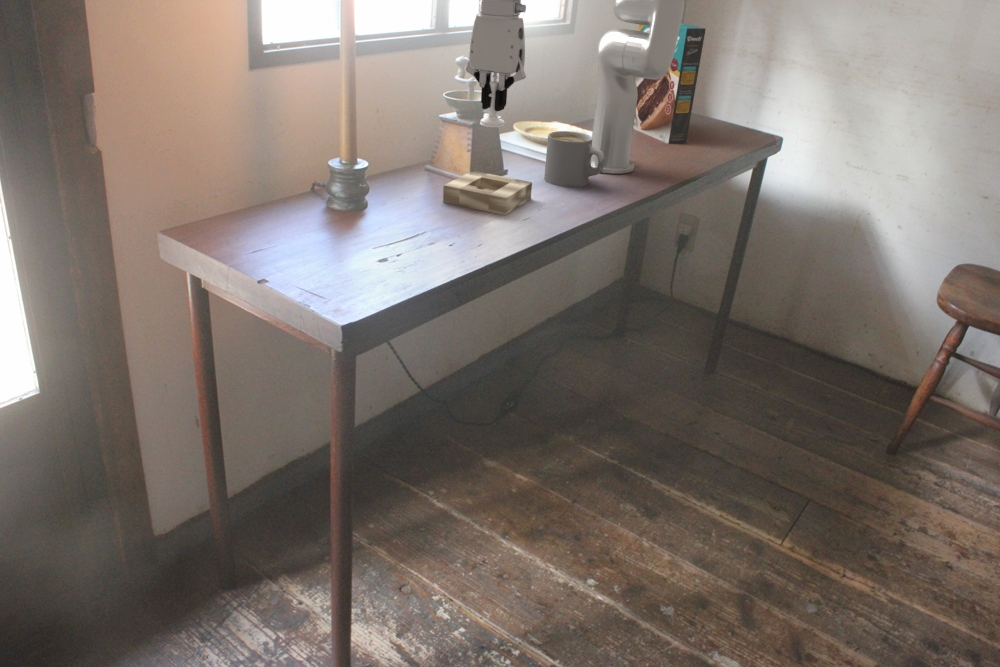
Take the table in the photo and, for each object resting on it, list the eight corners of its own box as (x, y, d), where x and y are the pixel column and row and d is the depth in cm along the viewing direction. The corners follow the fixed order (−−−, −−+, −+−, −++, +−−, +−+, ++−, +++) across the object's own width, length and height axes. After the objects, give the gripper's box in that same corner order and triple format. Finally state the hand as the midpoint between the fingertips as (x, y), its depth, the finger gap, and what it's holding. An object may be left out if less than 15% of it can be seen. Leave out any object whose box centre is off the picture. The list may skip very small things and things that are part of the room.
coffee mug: (535, 179, 180) (539, 135, 175) (559, 171, 187) (563, 128, 182) (585, 193, 173) (591, 147, 168) (608, 184, 180) (614, 140, 175)
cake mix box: (625, 125, 235) (639, 17, 221) (642, 124, 237) (657, 17, 223) (668, 143, 218) (687, 28, 204) (686, 142, 220) (705, 28, 206)
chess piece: (483, 127, 154) (486, 74, 149) (477, 121, 158) (479, 69, 154) (507, 127, 155) (511, 74, 151) (500, 121, 160) (504, 70, 155)
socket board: (471, 186, 172) (472, 170, 170) (530, 198, 167) (532, 182, 165) (443, 201, 161) (443, 185, 160) (505, 215, 156) (506, 198, 155)
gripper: (546, 11, 147) (537, 111, 156) (470, 3, 153) (466, 100, 161) (530, 14, 141) (522, 118, 150) (451, 5, 147) (448, 106, 155)
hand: (493, 108), depth 155 cm, fingers closed on chess piece
